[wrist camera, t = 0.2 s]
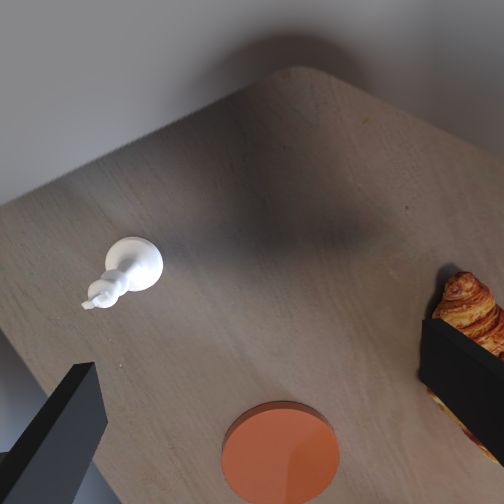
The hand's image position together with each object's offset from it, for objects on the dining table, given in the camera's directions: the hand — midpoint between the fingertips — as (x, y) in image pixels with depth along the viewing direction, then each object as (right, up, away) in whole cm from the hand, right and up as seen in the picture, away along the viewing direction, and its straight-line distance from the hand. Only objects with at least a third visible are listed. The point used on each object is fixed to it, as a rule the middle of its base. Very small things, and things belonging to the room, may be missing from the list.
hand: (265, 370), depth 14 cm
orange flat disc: (+2, -16, +23) cm, 28 cm away
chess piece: (-11, +4, +18) cm, 21 cm away
